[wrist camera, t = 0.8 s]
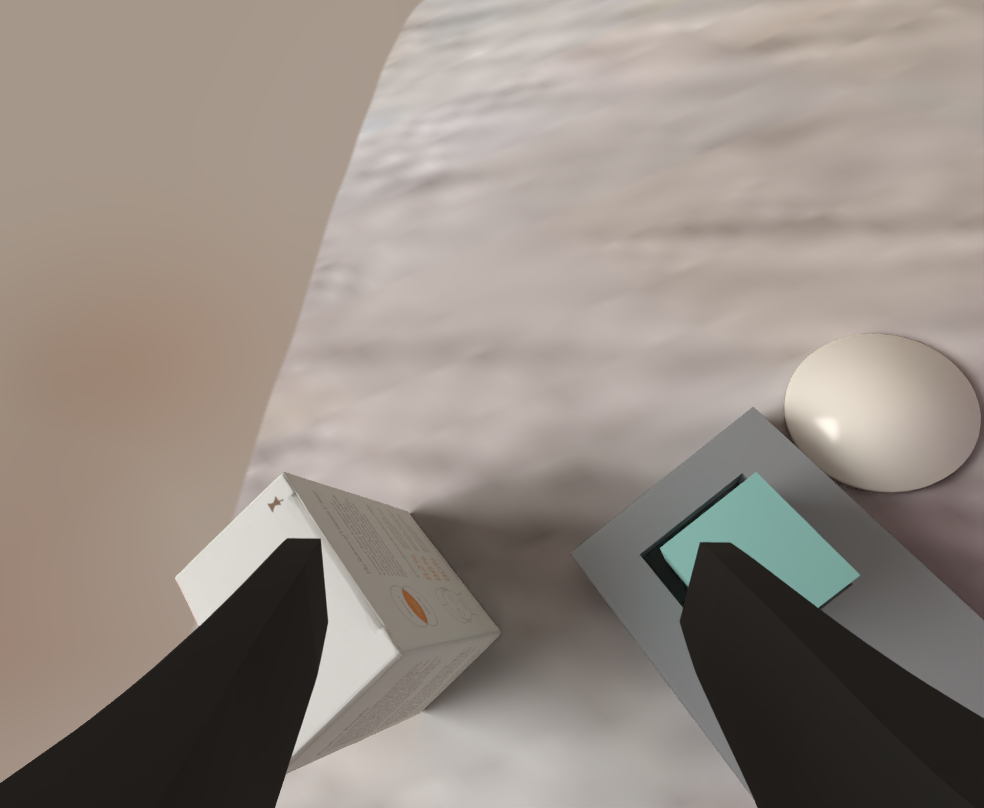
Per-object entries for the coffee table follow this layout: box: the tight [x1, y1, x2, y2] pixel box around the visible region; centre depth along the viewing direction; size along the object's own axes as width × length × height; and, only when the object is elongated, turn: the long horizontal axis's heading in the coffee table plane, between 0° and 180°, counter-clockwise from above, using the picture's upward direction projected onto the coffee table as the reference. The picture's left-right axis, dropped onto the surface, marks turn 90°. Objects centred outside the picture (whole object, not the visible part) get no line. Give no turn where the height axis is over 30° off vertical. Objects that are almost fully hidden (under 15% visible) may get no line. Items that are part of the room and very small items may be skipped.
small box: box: [175, 472, 501, 774], centre depth 23 cm, size 8×6×10 cm
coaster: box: [784, 334, 981, 493], centre depth 23 cm, size 7×7×1 cm
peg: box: [660, 472, 860, 608], centre depth 20 cm, size 4×4×7 cm
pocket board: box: [570, 407, 984, 799], centre depth 20 cm, size 18×10×2 cm, turn 35°
